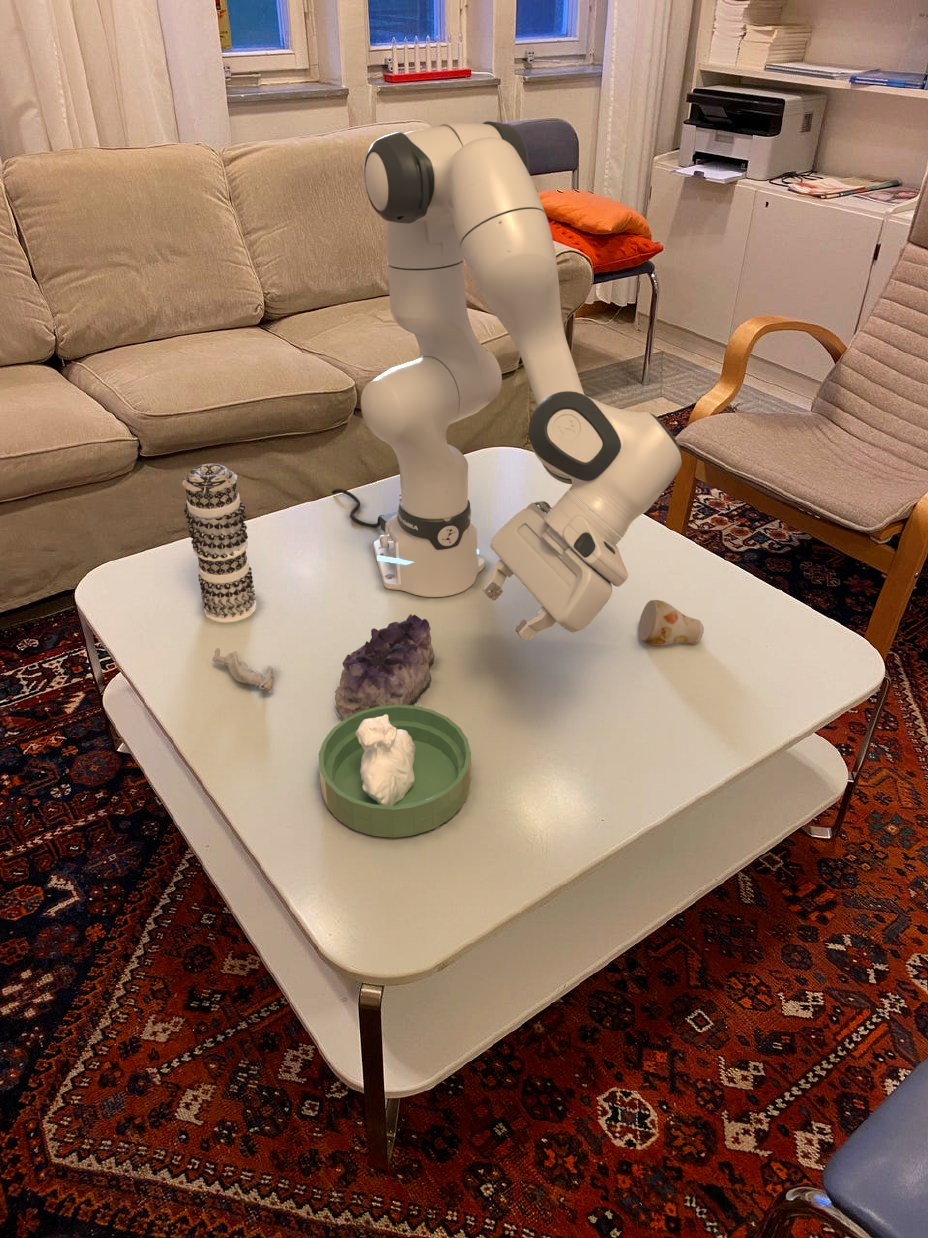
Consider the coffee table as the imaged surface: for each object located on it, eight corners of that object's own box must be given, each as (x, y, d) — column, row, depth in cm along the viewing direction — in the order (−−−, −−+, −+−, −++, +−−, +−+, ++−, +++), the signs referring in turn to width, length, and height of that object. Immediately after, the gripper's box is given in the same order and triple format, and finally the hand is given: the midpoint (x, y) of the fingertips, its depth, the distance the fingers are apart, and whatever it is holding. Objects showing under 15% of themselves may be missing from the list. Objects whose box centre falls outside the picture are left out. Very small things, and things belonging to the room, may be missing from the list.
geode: (379, 641, 150) (386, 589, 144) (447, 666, 147) (456, 613, 141) (319, 717, 133) (323, 661, 128) (394, 745, 131) (402, 690, 125)
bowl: (304, 757, 128) (301, 727, 125) (436, 720, 134) (436, 690, 131) (349, 860, 113) (346, 828, 110) (494, 812, 120) (495, 781, 117)
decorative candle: (219, 631, 152) (196, 490, 137) (191, 606, 157) (166, 469, 143) (269, 610, 156) (251, 472, 142) (240, 586, 162) (220, 452, 148)
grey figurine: (246, 659, 147) (297, 666, 140) (237, 689, 146) (287, 698, 139) (207, 643, 141) (258, 651, 134) (196, 675, 140) (247, 684, 133)
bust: (402, 765, 129) (351, 706, 125) (444, 749, 125) (392, 687, 121) (370, 829, 120) (314, 766, 116) (415, 814, 116) (357, 748, 112)
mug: (710, 655, 148) (690, 616, 141) (650, 669, 152) (628, 632, 145) (706, 618, 153) (686, 579, 146) (648, 633, 156) (626, 596, 150)
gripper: (525, 483, 122) (454, 563, 124) (606, 560, 107) (524, 649, 109) (553, 507, 126) (484, 584, 128) (636, 585, 111) (556, 671, 113)
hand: (503, 615), depth 119 cm, fingers open, 8 cm apart
